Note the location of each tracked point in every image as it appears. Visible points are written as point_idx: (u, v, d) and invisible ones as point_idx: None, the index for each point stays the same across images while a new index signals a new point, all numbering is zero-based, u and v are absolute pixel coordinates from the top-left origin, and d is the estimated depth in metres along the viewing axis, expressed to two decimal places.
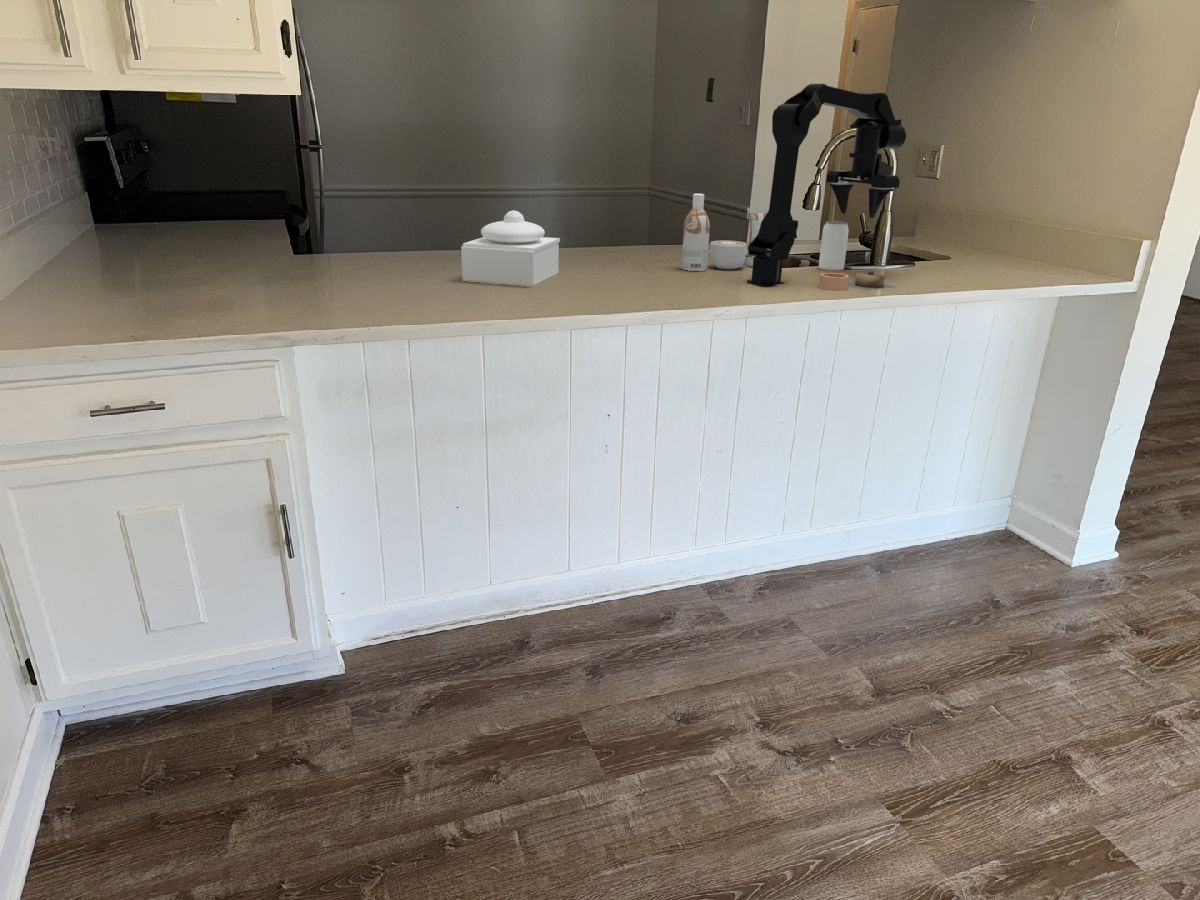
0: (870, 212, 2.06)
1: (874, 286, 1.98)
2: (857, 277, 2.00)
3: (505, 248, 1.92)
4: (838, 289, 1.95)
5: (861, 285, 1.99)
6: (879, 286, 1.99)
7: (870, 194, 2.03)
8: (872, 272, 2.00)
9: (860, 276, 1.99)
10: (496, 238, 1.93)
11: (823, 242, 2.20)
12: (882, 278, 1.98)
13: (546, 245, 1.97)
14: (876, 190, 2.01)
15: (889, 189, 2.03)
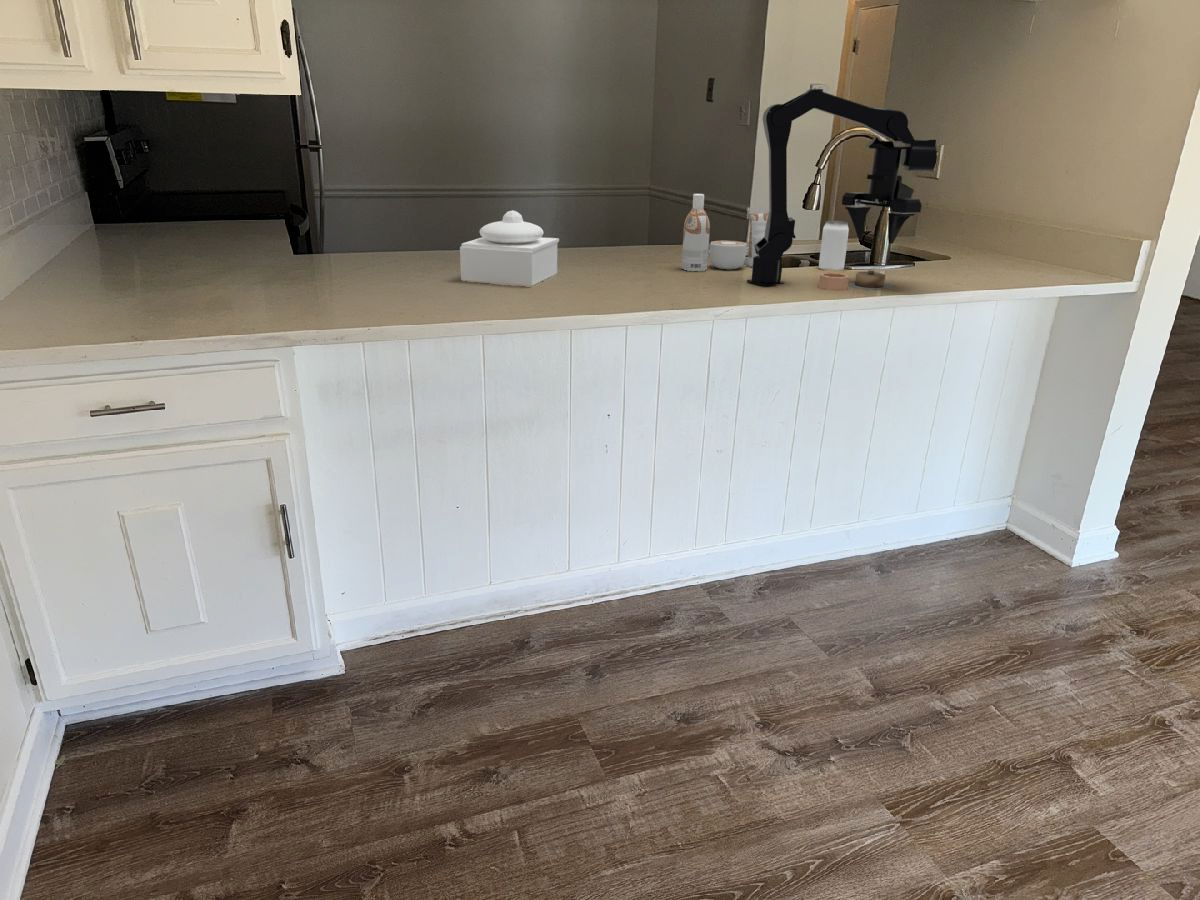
0: (889, 238, 1.93)
1: (874, 286, 1.98)
2: (857, 277, 2.00)
3: (504, 248, 1.91)
4: (838, 289, 1.95)
5: (861, 285, 1.99)
6: (879, 286, 1.99)
7: (889, 219, 1.90)
8: (872, 272, 2.00)
9: (860, 276, 1.99)
10: (495, 238, 1.92)
11: (823, 242, 2.20)
12: (882, 278, 1.98)
13: (545, 245, 1.97)
14: (896, 215, 1.88)
15: (910, 213, 1.89)
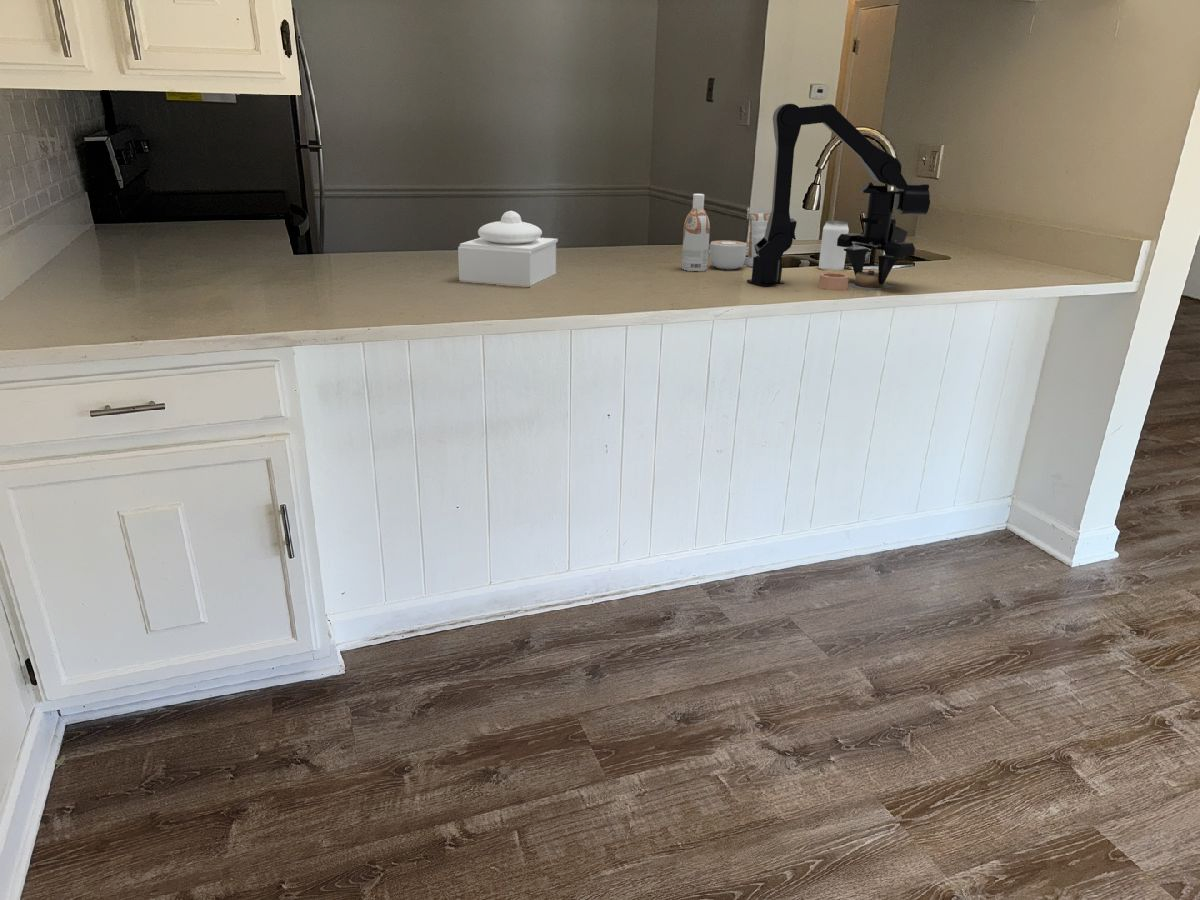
0: (879, 279, 1.97)
1: (874, 286, 1.98)
2: (857, 277, 2.00)
3: (502, 248, 1.91)
4: (838, 289, 1.95)
5: (861, 285, 1.99)
6: (879, 286, 1.99)
7: (880, 261, 1.94)
8: (872, 272, 2.00)
9: (860, 276, 1.99)
10: (493, 238, 1.92)
11: (823, 242, 2.20)
12: None
13: (543, 245, 1.96)
14: (886, 258, 1.92)
15: None
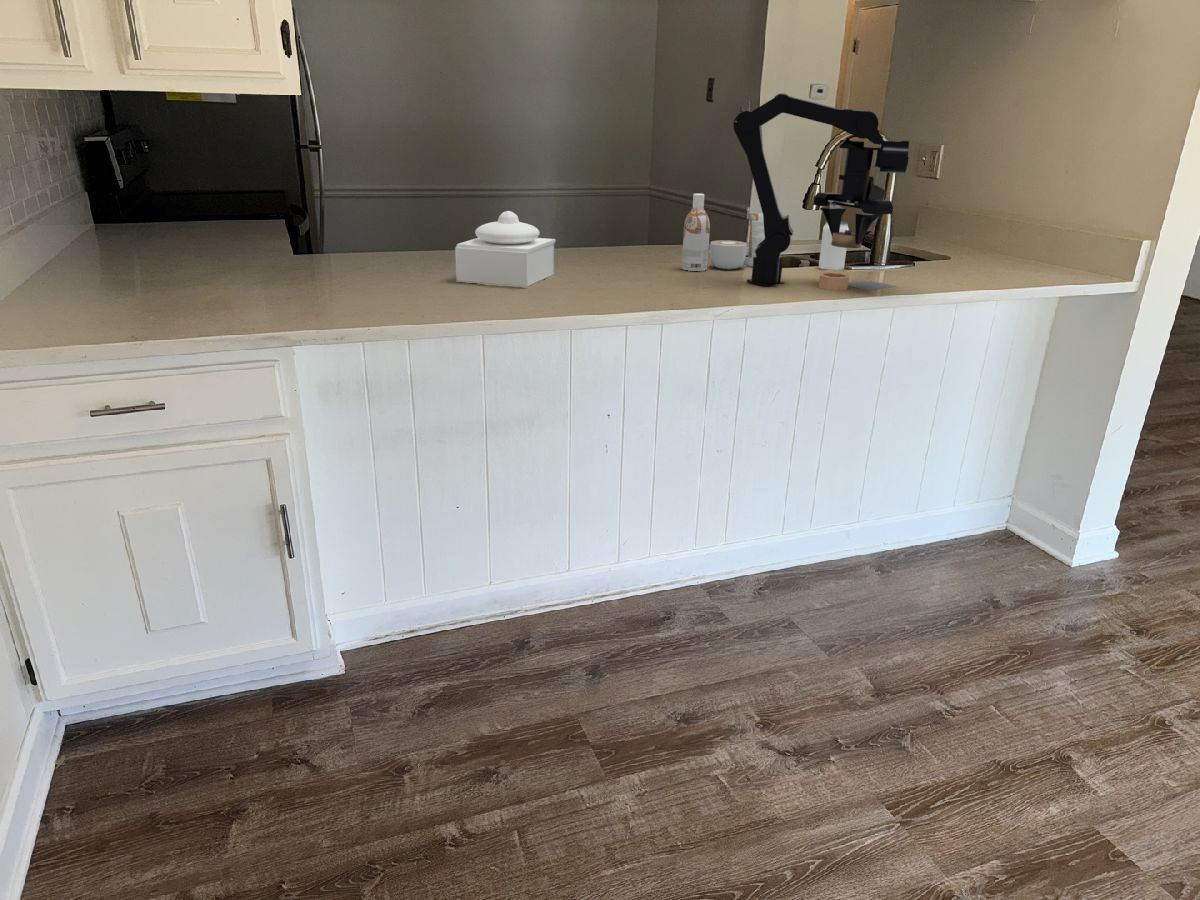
0: (856, 238, 1.91)
1: (851, 246, 1.92)
2: (834, 237, 1.94)
3: (499, 249, 1.90)
4: (838, 289, 1.95)
5: (838, 245, 1.93)
6: (856, 246, 1.93)
7: (857, 219, 1.88)
8: (849, 232, 1.94)
9: (837, 235, 1.93)
10: (490, 239, 1.91)
11: (823, 242, 2.20)
12: None
13: (541, 246, 1.96)
14: (863, 216, 1.86)
15: (877, 214, 1.88)
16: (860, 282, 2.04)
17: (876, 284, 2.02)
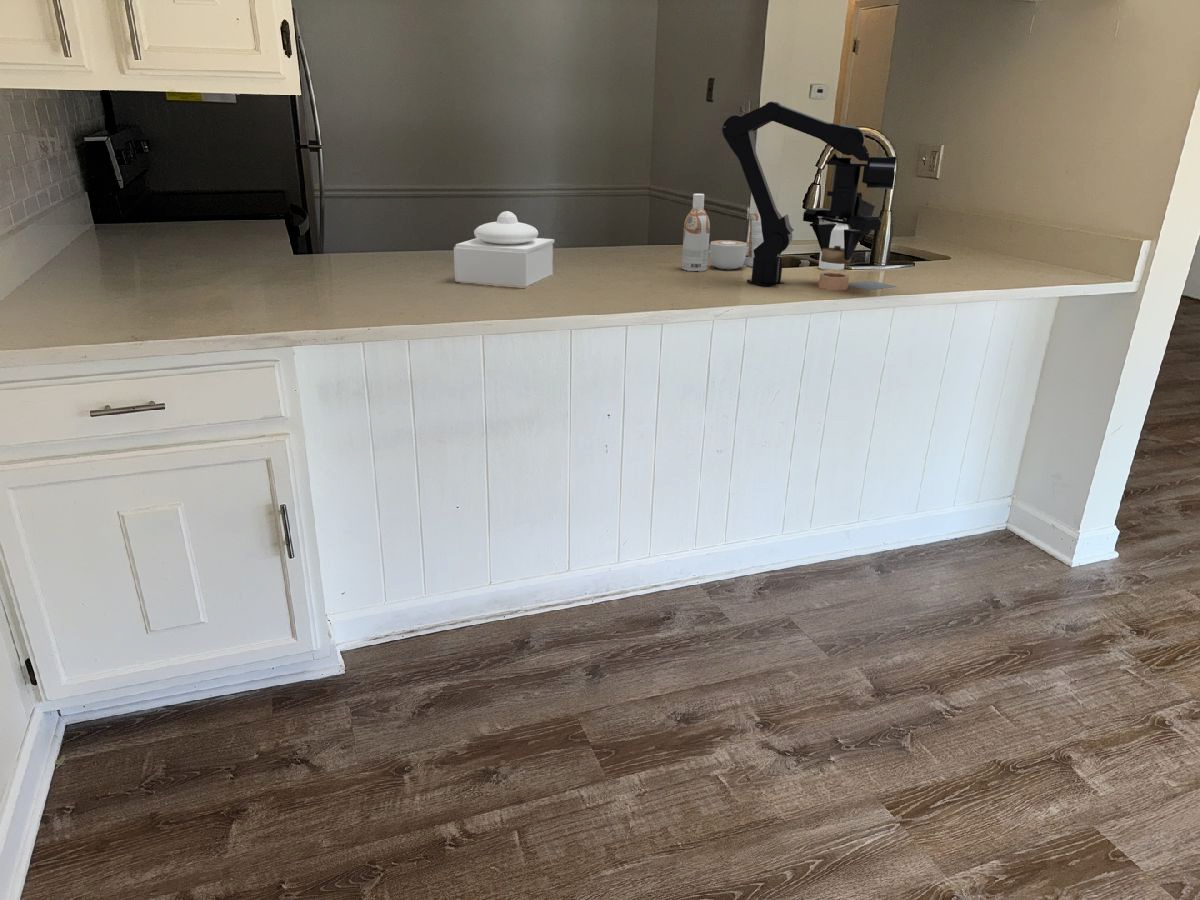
0: (845, 254, 1.92)
1: (840, 262, 1.93)
2: (823, 252, 1.94)
3: (498, 249, 1.90)
4: (838, 289, 1.95)
5: (827, 261, 1.94)
6: (845, 262, 1.93)
7: (845, 235, 1.89)
8: (838, 247, 1.94)
9: (826, 251, 1.93)
10: (489, 239, 1.91)
11: None
12: None
13: (539, 246, 1.95)
14: (851, 232, 1.87)
15: (865, 230, 1.88)
16: (860, 282, 2.04)
17: (876, 284, 2.02)
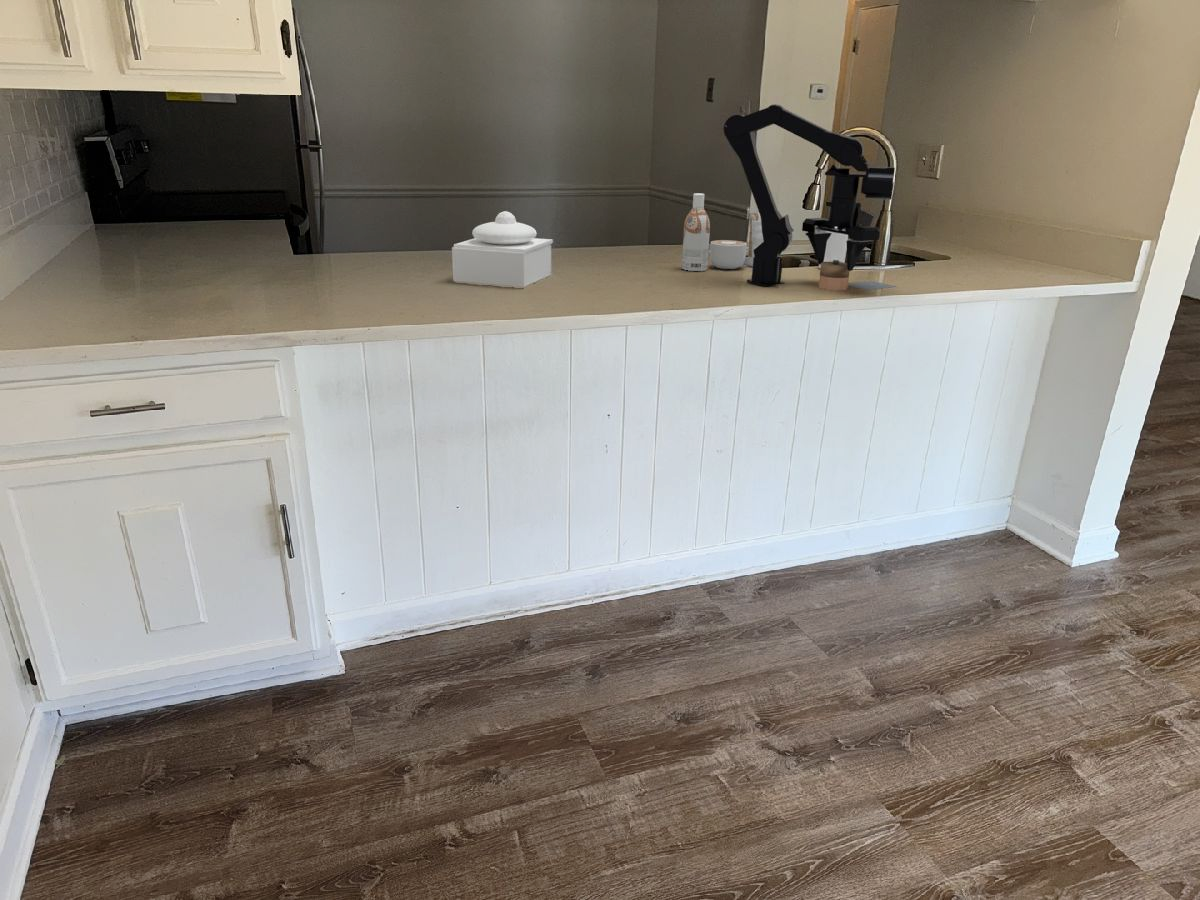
0: (848, 265, 1.91)
1: (839, 276, 1.94)
2: (822, 267, 1.96)
3: (496, 249, 1.90)
4: (838, 289, 1.95)
5: (826, 275, 1.95)
6: (844, 276, 1.94)
7: (848, 246, 1.89)
8: (837, 262, 1.95)
9: (825, 266, 1.95)
10: (487, 239, 1.91)
11: None
12: (847, 268, 1.94)
13: (538, 246, 1.95)
14: (854, 243, 1.86)
15: (868, 241, 1.88)
16: (860, 282, 2.04)
17: (876, 284, 2.02)
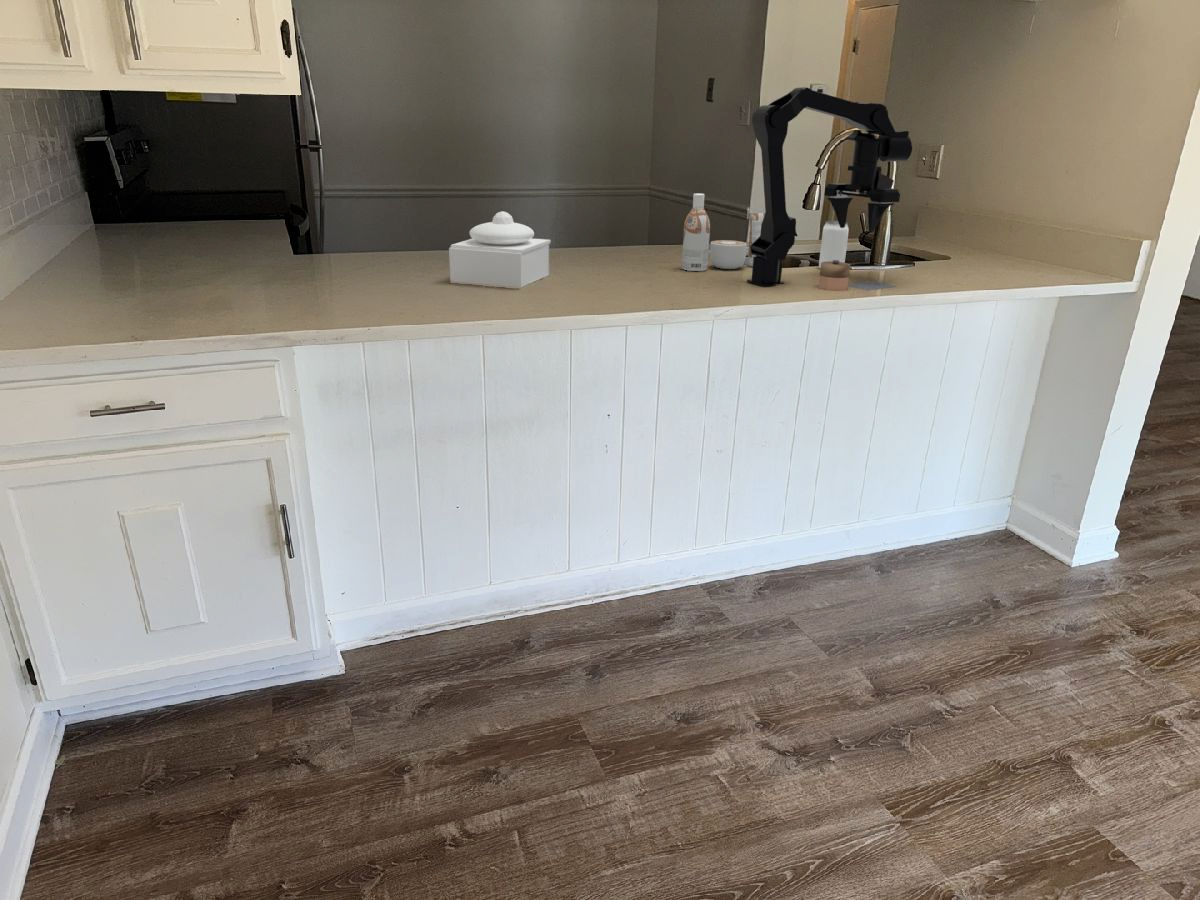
0: (869, 227, 1.99)
1: (839, 276, 1.94)
2: (822, 267, 1.96)
3: (493, 250, 1.89)
4: (838, 289, 1.95)
5: (826, 275, 1.95)
6: (844, 276, 1.94)
7: (869, 208, 1.96)
8: (837, 262, 1.95)
9: (825, 266, 1.95)
10: (484, 239, 1.90)
11: (823, 242, 2.20)
12: (847, 268, 1.94)
13: (535, 247, 1.94)
14: (875, 204, 1.94)
15: (889, 203, 1.96)
16: (860, 282, 2.04)
17: (876, 284, 2.02)
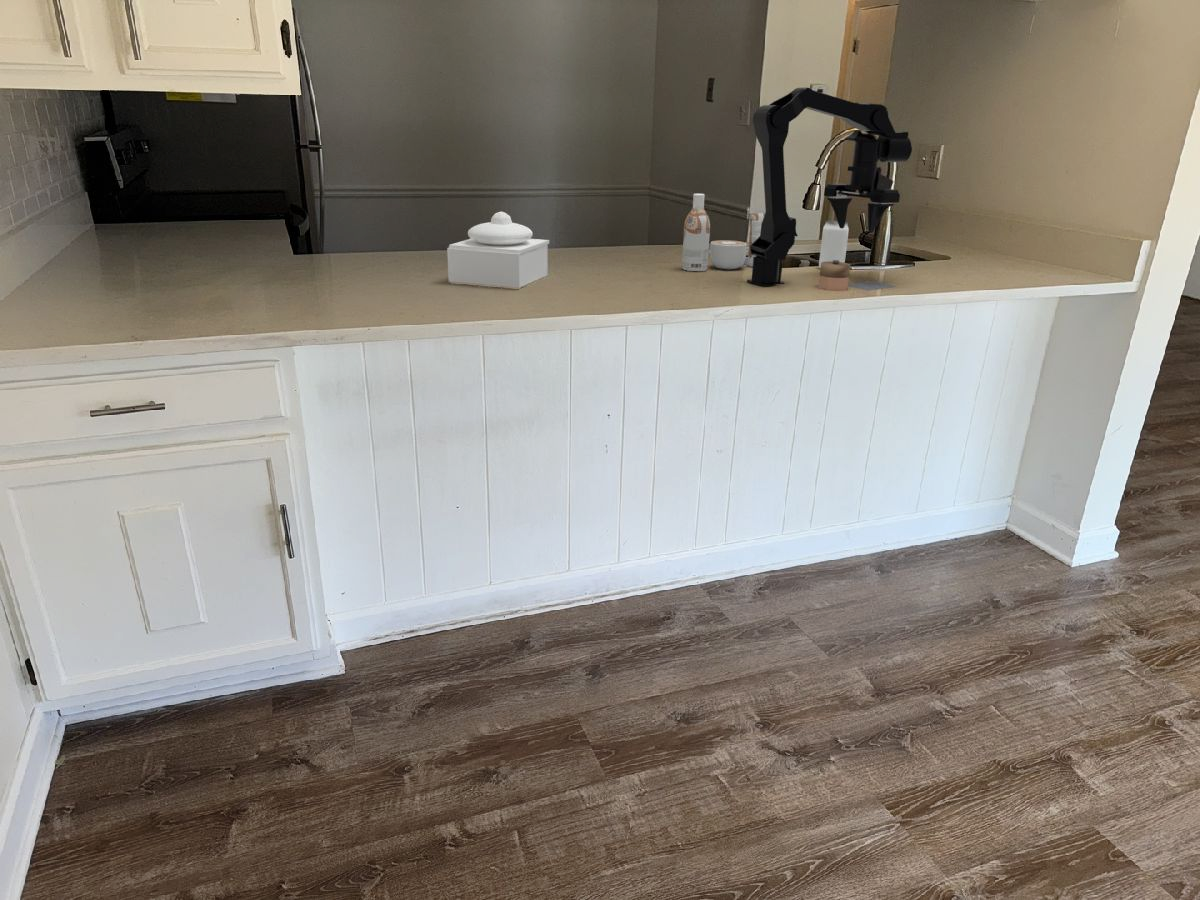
0: (869, 227, 1.99)
1: (839, 276, 1.94)
2: (822, 267, 1.96)
3: (491, 250, 1.89)
4: (838, 289, 1.95)
5: (826, 275, 1.95)
6: (844, 276, 1.94)
7: (869, 209, 1.97)
8: (837, 262, 1.95)
9: (825, 266, 1.95)
10: (482, 240, 1.90)
11: (823, 242, 2.20)
12: (847, 268, 1.94)
13: (533, 247, 1.94)
14: (875, 205, 1.94)
15: (889, 204, 1.96)
16: (860, 282, 2.04)
17: (876, 284, 2.02)
